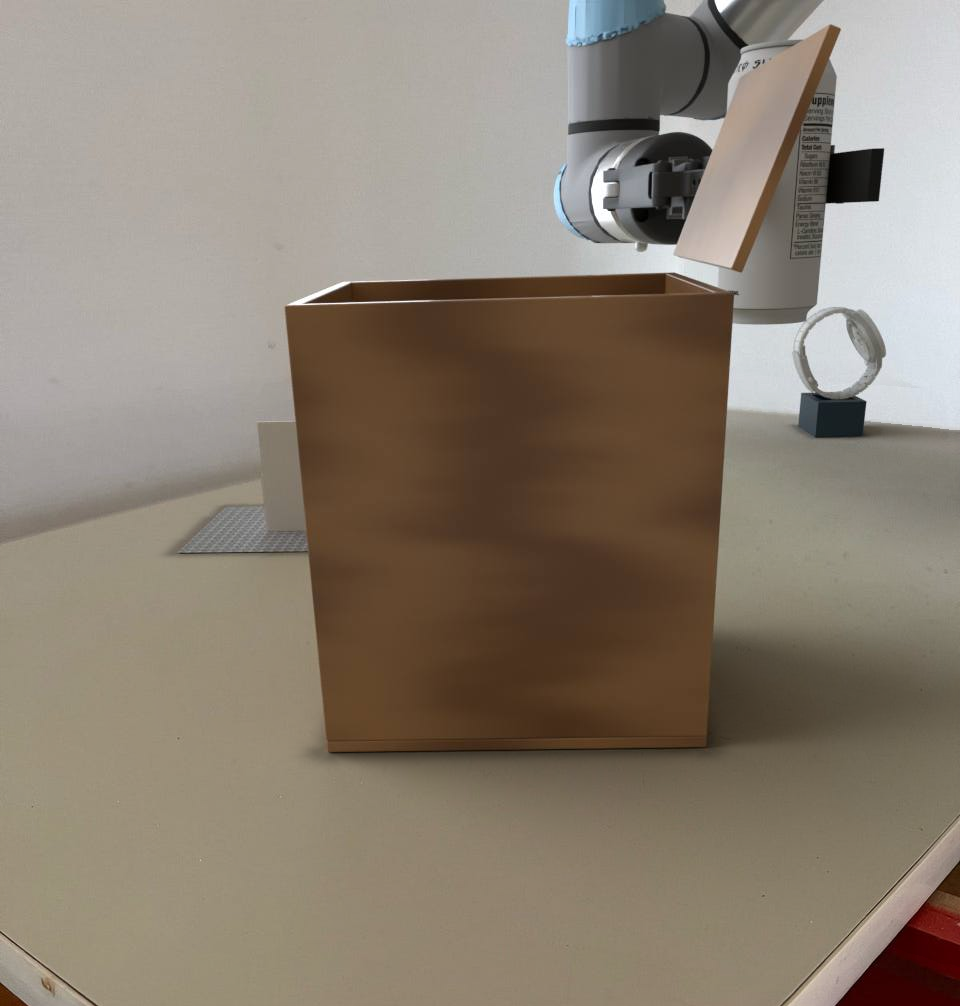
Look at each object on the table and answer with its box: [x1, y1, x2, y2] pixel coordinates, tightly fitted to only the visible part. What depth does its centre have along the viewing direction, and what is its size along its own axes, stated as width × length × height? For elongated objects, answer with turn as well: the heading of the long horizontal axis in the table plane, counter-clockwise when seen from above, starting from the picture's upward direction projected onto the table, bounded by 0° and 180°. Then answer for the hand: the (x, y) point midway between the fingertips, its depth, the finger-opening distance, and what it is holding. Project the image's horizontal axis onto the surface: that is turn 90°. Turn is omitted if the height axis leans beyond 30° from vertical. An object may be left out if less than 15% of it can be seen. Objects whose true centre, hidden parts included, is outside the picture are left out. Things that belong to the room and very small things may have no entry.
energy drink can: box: [717, 38, 838, 326], centre depth 61 cm, size 6×6×15 cm
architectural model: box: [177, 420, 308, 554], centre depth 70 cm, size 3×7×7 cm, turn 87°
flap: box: [672, 23, 842, 273], centre depth 38 cm, size 7×13×1 cm
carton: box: [283, 272, 734, 753], centre depth 43 cm, size 15×13×17 cm
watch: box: [791, 306, 887, 438], centre depth 94 cm, size 6×8×11 cm
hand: (820, 176), depth 57 cm, fingers closed on energy drink can, 6 cm apart
